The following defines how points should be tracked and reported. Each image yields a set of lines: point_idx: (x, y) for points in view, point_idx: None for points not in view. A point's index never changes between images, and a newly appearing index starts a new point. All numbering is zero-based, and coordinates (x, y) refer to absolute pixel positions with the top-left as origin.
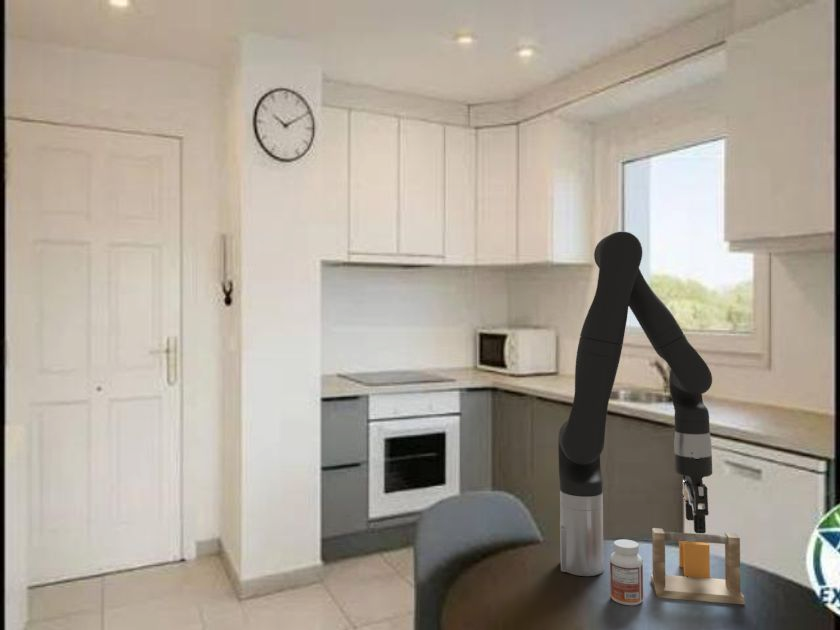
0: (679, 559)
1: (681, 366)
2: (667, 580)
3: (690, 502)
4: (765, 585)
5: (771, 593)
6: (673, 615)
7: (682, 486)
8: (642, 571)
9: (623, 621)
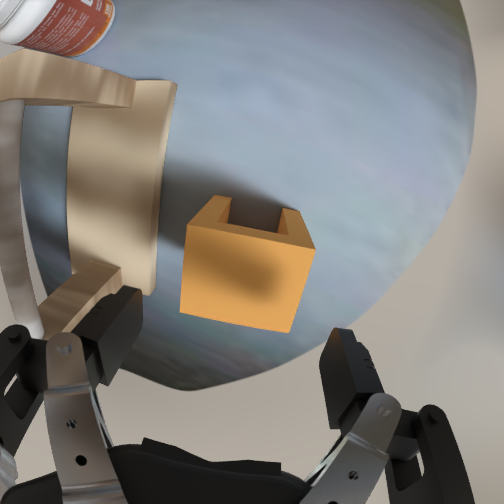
0: (298, 216)
1: None
2: (124, 119)
3: (47, 390)
4: (178, 350)
5: (142, 339)
6: (31, 113)
7: (453, 461)
8: (23, 46)
9: None
